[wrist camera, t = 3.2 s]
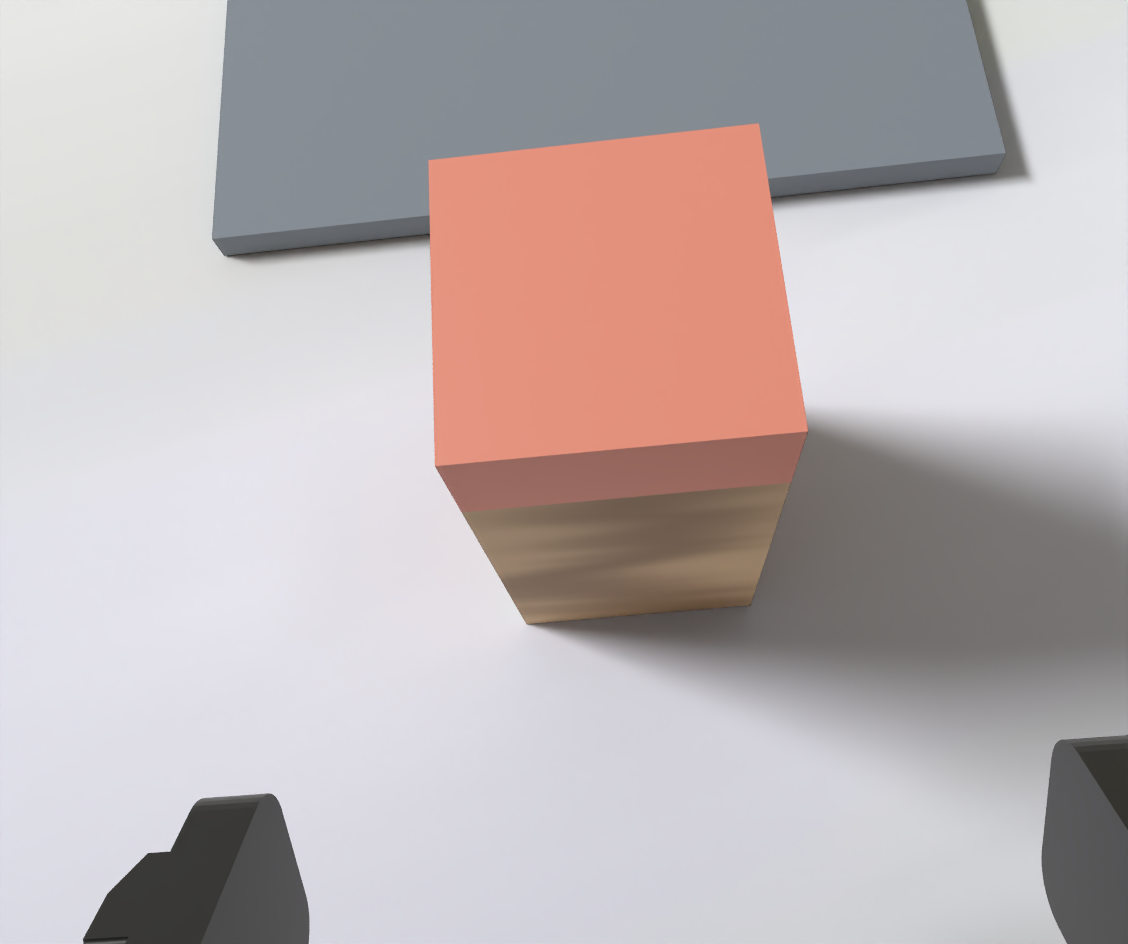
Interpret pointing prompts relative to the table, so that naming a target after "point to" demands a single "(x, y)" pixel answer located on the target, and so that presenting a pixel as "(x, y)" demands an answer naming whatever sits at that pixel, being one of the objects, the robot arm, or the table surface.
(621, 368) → the block
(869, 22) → the mat
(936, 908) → the table surface
